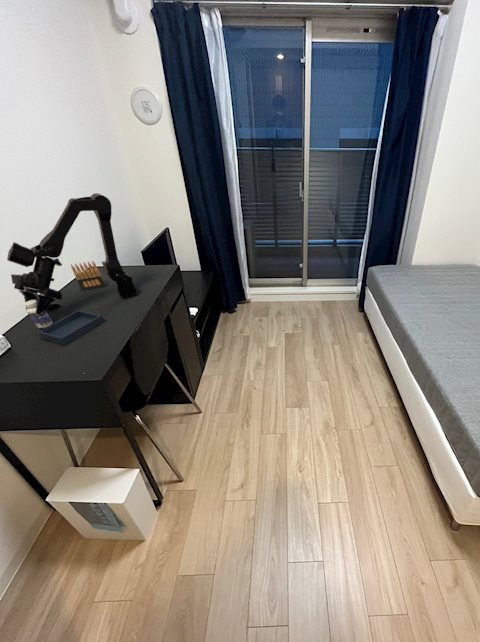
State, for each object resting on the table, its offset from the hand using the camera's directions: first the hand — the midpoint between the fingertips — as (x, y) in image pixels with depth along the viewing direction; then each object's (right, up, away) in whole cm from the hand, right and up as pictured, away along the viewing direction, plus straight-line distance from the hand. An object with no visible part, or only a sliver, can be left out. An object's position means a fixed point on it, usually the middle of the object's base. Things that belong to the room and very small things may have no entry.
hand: (32, 312), depth 123 cm
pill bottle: (+1, -4, +5) cm, 6 cm away
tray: (+14, -6, +3) cm, 15 cm away
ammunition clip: (+3, +19, +32) cm, 38 cm away
